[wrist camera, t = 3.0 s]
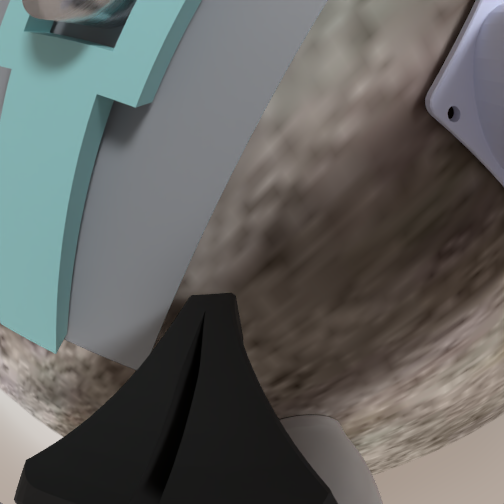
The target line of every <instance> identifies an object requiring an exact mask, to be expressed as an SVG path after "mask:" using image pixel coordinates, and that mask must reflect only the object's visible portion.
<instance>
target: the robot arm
mask: <svg viewBox="0 0 504 504" xmlns="http://www.w3.org/2000/svg"><path fill="white" fill-rule="evenodd" d="M425 106H426V109H427V111H428V112H429V114H430V115H431V116H432V117H434V118H435V119H436V120H437V121H438V122H439V123H440V124H442V125H443V126H444V127H445V128H446V129H447V130H448V131H449V132H451V133H452V134H453V135H454V136H455V137H456V138H457V139H458V140H459V141H460V142H461V143H462V144H463V145H464V146H465V147H466V148H467V149H468V150H469V151H470V152H472V153H473V155H474V156H475V157H476V158H477V159H478V160H479V161H480V162H481V163H482V164H483V165H484V166H485V167H486V168H487V169H488V170H489V171H490V172H491V173H492V174H493V176H494V177H495V178H496V179H497V180H498V181H499V182H500V183H501V185H502V186H503V187H504V0H476V1H475V3H474V5H473V7H472V9H471V11H470V13H469V15H468V17H467V19H466V21H465V23H464V25H463V27H462V29H461V31H460V33H459V35H458V37H457V39H456V41H455V43H454V45H453V47H452V49H451V51H450V53H449V54H448V56H447V58H446V60H445V62H444V64H443V66H442V67H441V69H440V71H439V73H438V75H437V77H436V78H435V80H434V82H433V84H432V86H431V87H430V89H429V91H428V93H427V95H426V98H425ZM451 106H452V108H453V110H454V115H453V117H452V118H451V119H449V118H448V110H449V108H450V107H451ZM14 500H15V502H16V503H17V504H338V503H337V501H336V499H335V497H334V496H333V494H332V492H331V490H330V488H329V487H328V486H327V485H326V483H325V482H324V481H323V480H322V479H321V478H320V476H319V475H318V474H317V473H316V471H315V470H314V469H313V468H312V466H311V465H310V464H309V463H308V461H307V460H306V459H305V457H304V456H303V455H302V453H301V452H300V450H299V449H298V448H297V446H296V445H295V444H294V442H293V441H292V439H291V437H290V436H289V434H288V433H287V431H286V430H285V428H284V427H283V425H282V423H281V422H280V420H279V419H278V417H277V416H276V414H275V412H274V410H273V409H272V407H271V405H270V403H269V401H268V400H267V398H266V396H265V394H264V392H263V390H262V388H261V386H260V384H259V382H258V380H257V377H256V375H255V373H254V371H253V368H252V366H251V363H250V361H249V359H248V356H247V353H246V351H245V348H244V345H243V334H242V329H241V323H240V318H239V312H238V306H237V301H236V296H235V295H234V294H232V293H221V294H206V295H192V296H191V297H190V298H189V299H188V301H187V302H186V304H185V305H184V307H183V308H182V310H181V311H180V313H179V314H178V316H177V317H176V319H175V320H174V322H173V323H172V325H171V326H170V327H169V329H168V330H167V332H166V333H165V334H164V336H163V337H162V339H161V340H160V341H159V343H158V344H157V346H156V347H155V348H154V349H153V351H152V352H151V353H150V355H149V356H148V357H147V358H146V360H145V361H144V362H143V363H142V365H141V366H140V367H139V368H138V369H137V371H136V372H135V373H134V374H133V375H132V376H131V378H130V379H129V380H128V381H127V382H126V383H125V384H124V385H123V386H122V387H121V388H120V389H119V390H118V392H117V393H116V394H115V395H114V396H113V397H111V398H110V399H109V400H108V401H107V402H106V403H105V404H104V405H103V406H102V407H101V408H100V409H98V410H97V411H96V412H95V413H94V414H93V415H92V416H91V417H90V418H88V419H87V420H86V421H85V422H83V423H82V424H81V425H79V426H78V427H77V428H76V429H74V430H73V431H72V432H70V433H69V434H67V435H66V436H65V437H63V438H62V439H60V440H59V441H57V442H56V443H54V444H53V445H51V446H49V447H48V448H46V449H45V450H43V451H41V452H40V453H38V454H36V455H34V456H33V457H31V458H29V459H27V460H26V462H25V465H24V468H23V471H22V474H21V477H20V480H19V484H18V487H17V490H16V494H15V498H14ZM0 504H2V503H0Z"/></svg>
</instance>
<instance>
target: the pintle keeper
mask: <svg viewBox="0 0 504 504" xmlns="http://www.w3.org/2000/svg"><path fill="white" fill-rule="evenodd" d="M136 1H137V0H22V3H23V6H24V8H25V10H26V12H27V13H28V14H29V15H31V16H32V17H34V18H37V19H44V20H52V21H60V22H67V23H74V24H80V25H85V26H91V27H96V28H102V29H109V28H115V27H118V26H121V25H123V24H125V23H126V21H127V19H128V17H129V15H130V13H131V11H132V9H133V7H134V5H135V3H136Z"/></svg>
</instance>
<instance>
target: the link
mask: <svg viewBox="0 0 504 504" xmlns="http://www.w3.org/2000/svg"><path fill="white" fill-rule="evenodd" d="M201 1H202V0H137V1H136V3H135V5H134V7H133V9H132V11H131V13H130V15H129V17H128V19H127V21H126V23H125V25H124V27H123V30H122V32H121V34H120V36H119V39H118V41H117V43H116V45H115V48H113V47H109V46H105V45H102V44H98V43H94V42H90V41H86V40H82V39H78V38H73V37H69V36H64V35H60V34H55V33H50V30H51V27H52V25H53V22H54V21H52V20H44V19H37V18H34V17H32V16H31V15H29V14H28V13H27V12H26V10H25V8H24V6H23V3H22V0H10V2H9V5H8V7H7V10H6V12H5V15H4V18H3V20H2V23H1V26H0V66H1V67H5V68H10V69H12V70H11V73H10V77H9V81H8V85H7V90H6V94H5V98H4V103H3V108H2V113H1V119H0V321H1V324H2V325H4V326H6V327H7V328H9V329H11V330H12V331H14V332H16V333H18V334H19V335H21V336H23V337H25V338H27V339H28V340H30V341H32V342H34V343H36V344H38V345H40V346H42V347H43V348H45V349H47V350H49V351H51V352H53V353H55V354H56V353H57V351H58V349H59V347H60V345H61V344H62V342H63V340H64V338H65V336H66V334H67V327H68V313H69V301H70V291H71V282H72V274H73V267H74V259H75V253H76V246H77V240H78V235H79V229H80V224H81V219H82V214H83V209H84V204H85V199H86V195H87V191H88V186H89V182H90V178H91V174H92V170H93V167H94V163H95V159H96V155H97V152H98V148H99V145H100V142H101V138H102V135H103V132H104V129H105V126H106V122H107V119H108V116H109V113H110V111H111V108H112V105H113V102H114V100H115V101H118V102H121V103H124V104H127V105H129V106H132V107H135V108H136V107H139V106H142V105H145V104H148V103H151V102H153V99H154V97H155V94H156V92H157V90H158V87H159V85H160V83H161V80H162V78H163V76H164V74H165V71H166V69H167V67H168V65H169V63H170V61H171V58H172V56H173V54H174V52H175V50H176V48H177V46H178V44H179V42H180V40H181V38H182V36H183V34H184V32H185V30H186V28H187V26H188V24H189V22H190V21H191V19H192V17H193V15H194V13H195V11H196V10H197V8H198V6H199V4H200V2H201Z"/></svg>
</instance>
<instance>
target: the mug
mask: <svg viewBox="0 0 504 504" xmlns="http://www.w3.org/2000/svg"><path fill="white" fill-rule="evenodd" d="M280 422H281V423H282V425H283V427H284V428H285V430H286V431H287V433H288V434H289V436H290V437H291V439H292V441H293V442H294V444H295V445H296V446H297V448H298V449H299V450H300V452H301V453H302V455H303V456H304V457H305V459H306V460H307V461H308V463H309V464H310V465H311V466H312V468H313V469H314V470H315V471H316V473H317V474H318V475H319V476H320V478H321V479H322V480H323V481H324V482H325V483H326V485H327V486H328V487H329V488H330V490H331V492H332V494H333V496H334V497H335V499H336V501H337V503H338V504H383V503H382V500H381V497H380V493H379V491H378V488H377V485H376V483H375V480H374V478H373V476H372V474H371V472H370V470H369V468H368V466H367V464H366V462H365V460H364V459H363V457H362V456H361V454H360V453H359V451H358V450H357V448H356V447H355V446H354V444H353V443H352V442H351V441H350V439H349V438H348V437H347V436H346V434H345V433H344V431H343V429H342V427H341V425H340V423H339V422H338V421H337V420H336V419H334V418H331V417H328V416H322V415H300V416H293V417H288V418H284V419H280Z"/></svg>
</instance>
